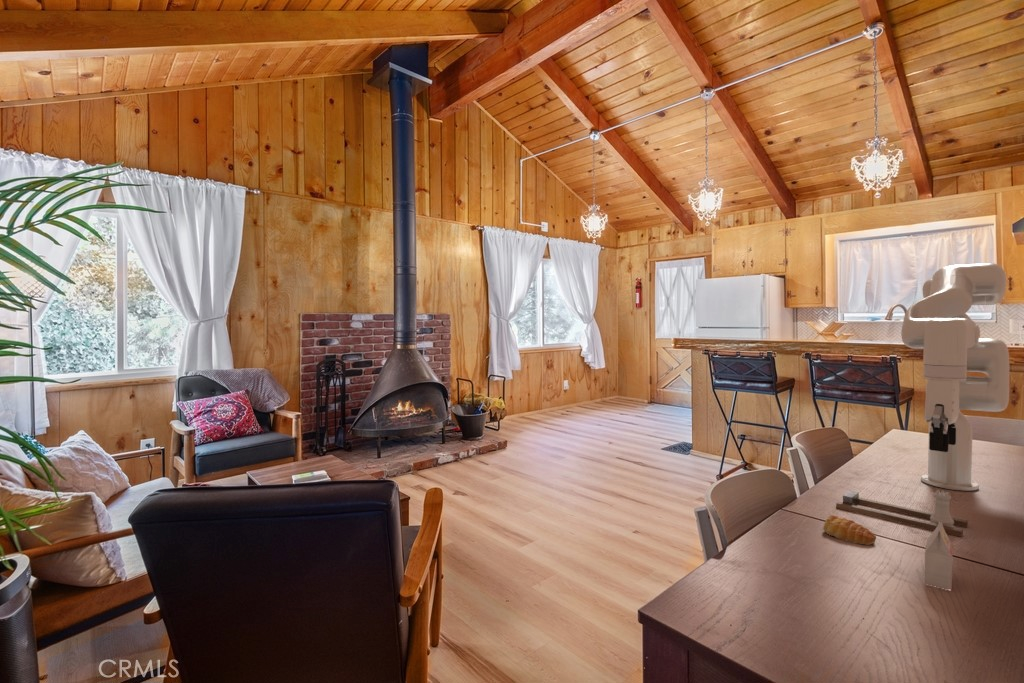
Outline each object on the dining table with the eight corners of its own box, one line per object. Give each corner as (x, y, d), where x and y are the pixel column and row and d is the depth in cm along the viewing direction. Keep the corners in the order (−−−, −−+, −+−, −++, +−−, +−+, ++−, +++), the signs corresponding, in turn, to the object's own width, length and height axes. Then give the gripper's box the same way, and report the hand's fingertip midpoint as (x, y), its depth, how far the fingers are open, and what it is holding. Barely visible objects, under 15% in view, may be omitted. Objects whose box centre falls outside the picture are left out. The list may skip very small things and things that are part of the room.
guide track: (847, 499, 134) (847, 494, 134) (967, 525, 116) (968, 520, 116) (836, 507, 128) (836, 503, 128) (961, 537, 110) (961, 531, 110)
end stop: (849, 501, 132) (849, 490, 132) (858, 503, 131) (858, 492, 130) (842, 507, 128) (842, 495, 128) (851, 509, 127) (852, 497, 127)
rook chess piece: (959, 530, 113) (960, 495, 113) (936, 529, 114) (937, 494, 114) (946, 523, 118) (947, 489, 117) (924, 521, 119) (925, 488, 118)
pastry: (881, 542, 108) (882, 524, 108) (866, 550, 105) (867, 532, 105) (835, 527, 116) (835, 511, 116) (819, 534, 113) (819, 517, 113)
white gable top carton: (924, 584, 90) (925, 529, 90) (926, 570, 96) (927, 518, 95) (951, 591, 88) (952, 535, 88) (951, 577, 93) (953, 523, 93)
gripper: (930, 369, 123) (929, 438, 124) (915, 374, 112) (913, 450, 112) (972, 371, 118) (970, 444, 118) (960, 376, 106) (958, 457, 107)
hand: (942, 447), depth 115 cm, fingers open, 9 cm apart
